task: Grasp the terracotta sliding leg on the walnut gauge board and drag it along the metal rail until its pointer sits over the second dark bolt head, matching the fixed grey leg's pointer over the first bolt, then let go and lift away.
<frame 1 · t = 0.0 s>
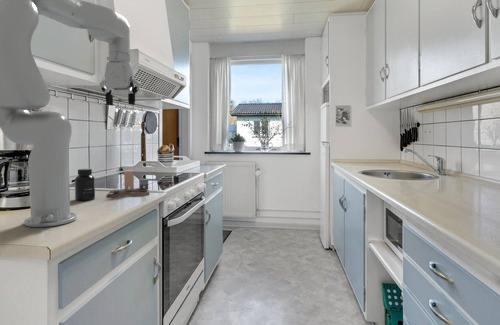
hand: (120, 104, 116), 37 cm above the countertop, tool pointing down, fingers open, 9 cm apart
sliding leg: (129, 180, 128), point 6 cm above the countertop, slide at 0.0 cm
gauge board: (129, 194, 130), on the countertop
supplement bottle: (85, 200, 117), on the countertop
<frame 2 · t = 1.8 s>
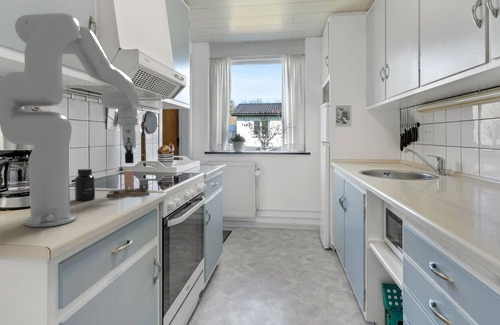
hand: (129, 161, 129), 14 cm above the countertop, tool pointing down, fingers open, 9 cm apart
nothing on the countertop moved.
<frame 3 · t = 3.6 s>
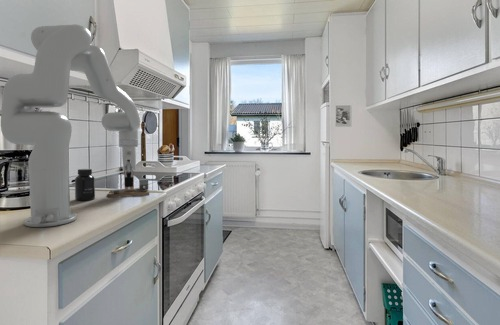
hand: (129, 185, 129), 4 cm above the countertop, tool pointing down, fingers closed on sliding leg, 4 cm apart
sliding leg: (128, 180, 128), point 6 cm above the countertop, slide at 0.0 cm, touching gripper
everything else where it was.
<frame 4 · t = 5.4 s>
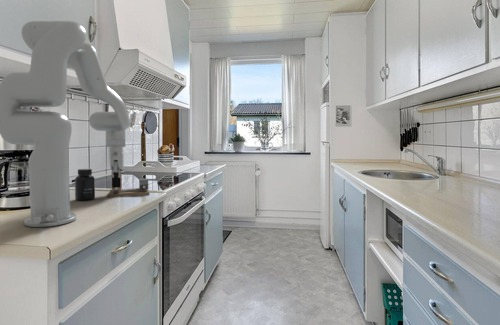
hand: (116, 185, 127), 4 cm above the countertop, tool pointing down, fingers closed on sliding leg, 4 cm apart
sliding leg: (116, 180, 126), point 6 cm above the countertop, slide at 4.9 cm, touching gripper
everything else where it was.
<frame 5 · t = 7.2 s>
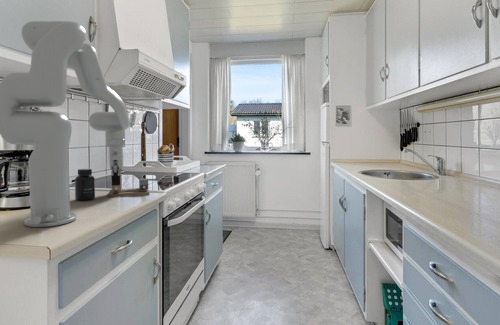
hand: (116, 183, 127), 5 cm above the countertop, tool pointing down, fingers open, 9 cm apart
sliding leg: (116, 180, 126), point 6 cm above the countertop, slide at 5.0 cm
everything else where it was.
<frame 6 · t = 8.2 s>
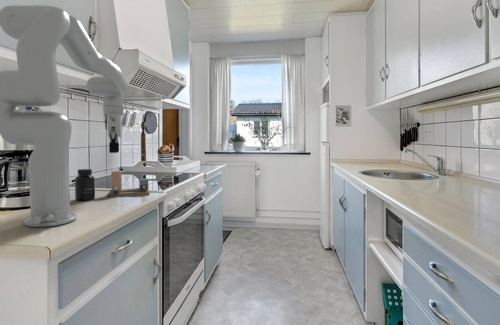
hand: (114, 152, 126), 18 cm above the countertop, tool pointing down, fingers open, 9 cm apart
nothing on the countertop moved.
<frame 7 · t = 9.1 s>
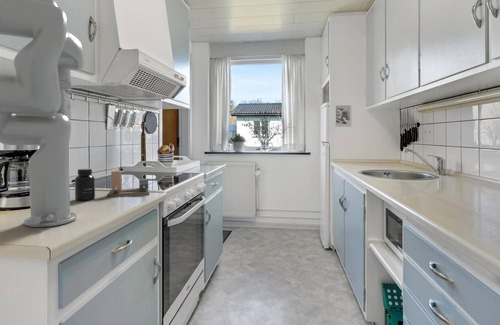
hand: (60, 134, 109), 25 cm above the countertop, tool pointing down, fingers open, 9 cm apart
nothing on the countertop moved.
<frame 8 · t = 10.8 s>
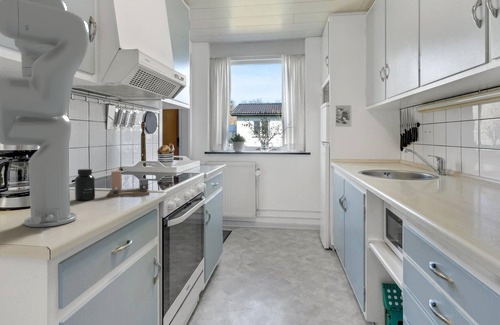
hand: (37, 125, 104), 28 cm above the countertop, tool pointing down, fingers open, 9 cm apart
nothing on the countertop moved.
at the end: sliding leg slide at 5.0 cm; the gripper is holding nothing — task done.
